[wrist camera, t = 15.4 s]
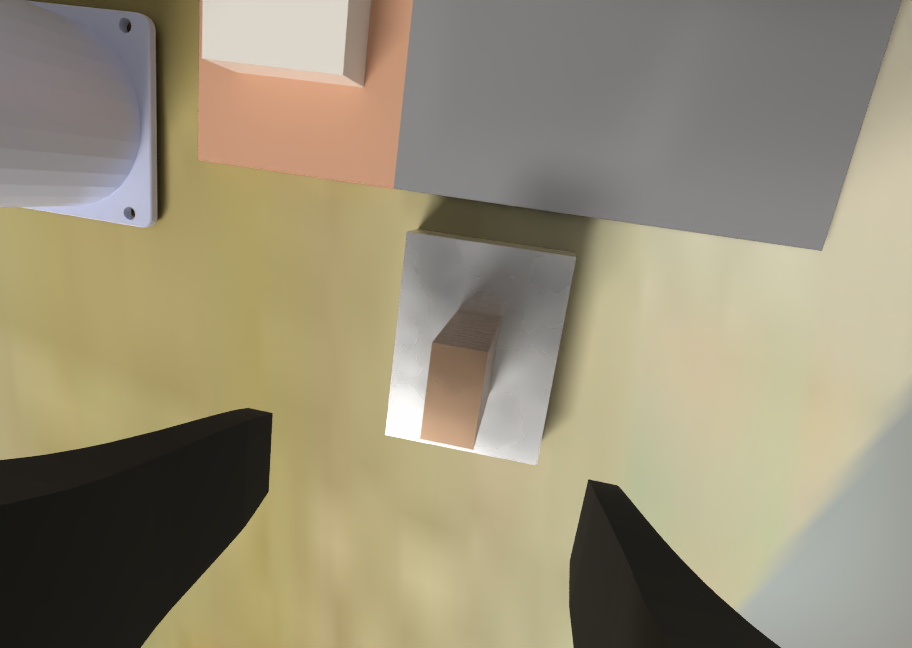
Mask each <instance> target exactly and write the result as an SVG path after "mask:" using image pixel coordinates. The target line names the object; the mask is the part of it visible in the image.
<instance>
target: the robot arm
mask: <svg viewBox="0 0 912 648" xmlns="http://www.w3.org/2000/svg"><path fill="white" fill-rule="evenodd" d="M129 22H131V30H130V31H129V33H128V31H127V25H128V23H129ZM0 207H22V208H28V209H34V210H40V211H46V212H52V213H58V214H64V215H71V216H77V217H83V218H89V219H95V220H101V221H107V222H113V223H119V224H125V225H131V226H137V227H151V226H153V225H154V224H155V223H156V221H157V119H156V30H155V25H154V23H153V21H152V20H151V19H150V18H149V17H148V16H145V15H143V14H141V13H138V12H128V11H119V10H110V9H100V8H91V7H82V6H72V5H63V4H54V3H44V2H35V1H26V0H0ZM132 208H133V210H134V211H135V218H133V216H132V214H131V210H132ZM271 433H272V413H269V412H264V411H260V410H255V409H250V408H245V409H239V410H234V411H229V412H225V413H221V414H217V415H213V416H209V417H206V418H202V419H199V420H195V421H191V422H188V423H184V424H181V425H177V426H173V427H170V428H166V429H162V430H159V431H155V432H151V433H147V434H143V435H139V436H135V437H131V438H126V439H122V440H118V441H114V442H110V443H106V444H101V445H96V446H91V447H86V448H81V449H76V450H70V451H64V452H59V453H53V454H47V455H40V456H33V457H24V458H16V459H7V460H0V648H141V646H142V645H143V644H144V642H145V641H146V640H147V638H148V637H149V636H150V634H151V633H152V632H153V630H154V629H155V628H156V626H157V625H158V624H159V623H160V622H161V620H162V619H163V618H164V617H165V616H166V614H167V613H168V612H169V611H170V610H171V609H172V607H173V606H174V605H175V604H176V603H177V602H178V601H179V600H180V599H181V597H182V596H183V595H184V594H185V593H186V592H187V591H188V590H189V589H190V588H191V586H192V585H193V584H194V583H195V582H196V581H197V580H198V579H199V578H200V577H201V575H202V574H203V573H204V572H205V571H206V570H207V569H208V568H209V567H210V565H211V564H212V563H213V562H214V561H215V560H216V559H217V558H218V557H219V556H220V554H221V553H222V552H223V551H224V550H225V549H226V548H227V547H228V545H229V544H230V543H231V542H232V541H233V540H234V539H235V538H236V536H237V535H238V534H239V533H240V532H241V531H242V529H243V528H244V527H245V526H246V524H247V523H248V521H249V520H250V519H251V517H252V516H253V514H254V513H255V511H256V510H257V508H258V507H259V505H260V504H261V502H262V501H263V499H264V498H265V496H266V495H267V493H268V492H269V472H270V453H271ZM569 608H570V618H571V627H572V636H573V645H574V648H781V647H779V646H778V645H777V644H775V643H774V642H773V641H771V640H770V639H769V638H767V637H766V636H765V635H764V634H762V633H761V632H760V631H759V630H757V629H756V628H755V627H754V626H752V625H751V624H750V623H749V622H748V621H746V620H745V619H744V618H743V617H742V616H741V615H740V614H738V613H737V612H736V611H735V610H734V609H733V608H732V607H730V606H729V605H728V604H727V603H726V602H725V601H724V600H722V599H721V598H720V597H719V596H718V595H717V594H716V593H715V592H714V591H713V590H712V589H711V588H709V587H708V586H707V585H706V584H705V583H704V582H703V581H702V580H701V579H700V578H699V577H698V576H697V575H696V574H695V573H694V572H693V571H692V570H691V569H690V568H689V567H688V566H687V565H686V564H685V562H684V561H683V560H682V559H681V558H680V557H679V556H678V555H677V554H676V553H675V552H674V551H673V550H672V549H671V547H670V546H669V545H668V544H667V543H666V542H665V541H664V540H663V538H662V537H661V536H660V535H659V534H658V533H657V532H656V530H655V529H654V528H653V527H652V526H651V525H650V523H649V522H648V521H647V520H646V519H645V517H644V516H643V515H642V514H641V513H640V511H639V510H638V509H637V508H636V506H635V505H634V504H633V503H632V502H631V500H630V499H629V498H628V497H627V495H626V494H625V493H624V492H623V491H622V490H621V489H620V487H619V486H617V485H612V484H608V483H603V482H598V481H593V480H588V484H587V488H586V493H585V497H584V501H583V506H582V510H581V514H580V519H579V523H578V528H577V532H576V536H575V541H574V545H573V549H572V554H571V558H570V580H569Z"/></svg>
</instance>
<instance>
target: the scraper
mask: <svg viewBox="0 0 912 648" xmlns="http://www.w3.org/2000/svg"><path fill="white" fill-rule="evenodd" d="M575 262H576V255H575V253H574V252H570V251H563V250H556V249H549V248H543V247H536V246H529V245H522V244H516V243H509V242H502V241H495V240H489V239H482V238H475V237H468V236H462V235H455V234H448V233H441V232H435V231H428V230H421V229H416V230H412V231H408V232H407V235H406V244H405V254H404V263H403V273H402V282H401V291H400V301H399V310H398V320H397V329H396V339H395V348H394V357H393V367H392V376H391V386H390V395H389V405H388V414H387V423H386V433H385V435H389V436H394V437H398V438H403V439H408V440H413V441H418V442H423V443H428V444H433V445H438V446H443V447H448V448H453V449H458V450H463V451H468V452H473V453H478V454H483V455H487V456H492V457H497V458H502V459H507V460H512V461H517V462H522V463H527V464H532V465H537V461H538V456H539V451H540V445H541V440H542V435H543V430H544V424H545V419H546V414H547V409H548V403H549V398H550V393H551V388H552V382H553V377H554V372H555V367H556V362H557V356H558V351H559V346H560V341H561V335H562V330H563V325H564V320H565V314H566V309H567V304H568V299H569V293H570V288H571V283H572V278H573V272H574V267H575Z"/></svg>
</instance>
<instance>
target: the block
mask: <svg viewBox="0 0 912 648" xmlns="http://www.w3.org/2000/svg"><path fill="white" fill-rule="evenodd" d="M370 8H371V0H203V6H202V59H205V60H207V61H210V62H212V63H215V64H217V65H220V66H222V67H225V68H227V69H230V70H232V71H235V72H239V73H248V74H256V75H264V76H273V77H281V78H289V79H298V80H306V81H314V82H322V83H331V84H339V85H347V86H356V87H364V78H365V66H366V55H367V43H368V31H369V19H370Z"/></svg>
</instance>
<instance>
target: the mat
mask: <svg viewBox="0 0 912 648" xmlns="http://www.w3.org/2000/svg"><path fill="white" fill-rule="evenodd" d="M901 1H902V0H371V8H370V19H369V31H368V43H367V55H366V66H365V78H364V87H356V86H347V85H339V84H331V83H322V82H314V81H306V80H298V79H289V78H281V77H273V76H264V75H256V74H248V73H239V72H235V71H232V70H230V69H227V68H225V67H222V66H220V65H217V64H215V63H212V62H210V61H207V60H205V59H202V6H203V0H200V20H199V125H198V160H201V161H208V162H215V163H221V164H228V165H235V166H242V167H249V168H256V169H263V170H270V171H276V172H283V173H290V174H297V175H304V176H311V177H318V178H325V179H331V180H338V181H345V182H352V183H359V184H366V185H373V186H380V187H386V188H393V189H400V190H407V191H414V192H421V193H428V194H435V195H441V196H448V197H455V198H462V199H469V200H476V201H483V202H490V203H496V204H503V205H510V206H517V207H524V208H531V209H538V210H545V211H551V212H558V213H565V214H572V215H579V216H586V217H593V218H600V219H606V220H613V221H620V222H627V223H634V224H641V225H648V226H654V227H661V228H668V229H675V230H682V231H689V232H696V233H703V234H709V235H716V236H723V237H730V238H737V239H744V240H751V241H758V242H764V243H771V244H778V245H785V246H792V247H799V248H806V249H813V250H819V251H822V249H823V246H824V243H825V240H826V237H827V233H828V230H829V227H830V224H831V221H832V218H833V215H834V211H835V208H836V205H837V202H838V199H839V196H840V192H841V189H842V186H843V183H844V180H845V177H846V174H847V170H848V167H849V164H850V161H851V158H852V155H853V152H854V148H855V145H856V142H857V139H858V136H859V133H860V130H861V126H862V123H863V120H864V117H865V114H866V111H867V108H868V104H869V101H870V98H871V95H872V92H873V89H874V85H875V82H876V79H877V76H878V73H879V70H880V67H881V63H882V60H883V57H884V54H885V51H886V48H887V45H888V41H889V38H890V35H891V32H892V29H893V26H894V23H895V19H896V16H897V13H898V10H899V7H900V4H901Z"/></svg>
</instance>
